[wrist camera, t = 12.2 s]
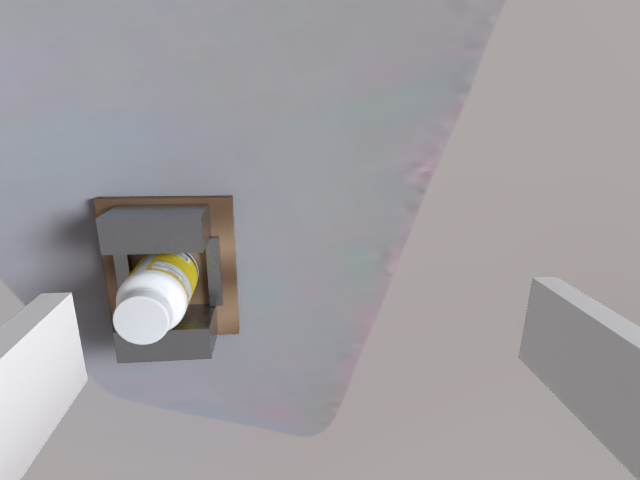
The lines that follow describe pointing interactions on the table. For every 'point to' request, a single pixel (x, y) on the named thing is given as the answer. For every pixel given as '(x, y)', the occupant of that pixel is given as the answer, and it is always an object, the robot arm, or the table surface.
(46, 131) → the table surface
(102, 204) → the mount board
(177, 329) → the grey rectangular frame
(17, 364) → the robot arm
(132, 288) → the supplement bottle
